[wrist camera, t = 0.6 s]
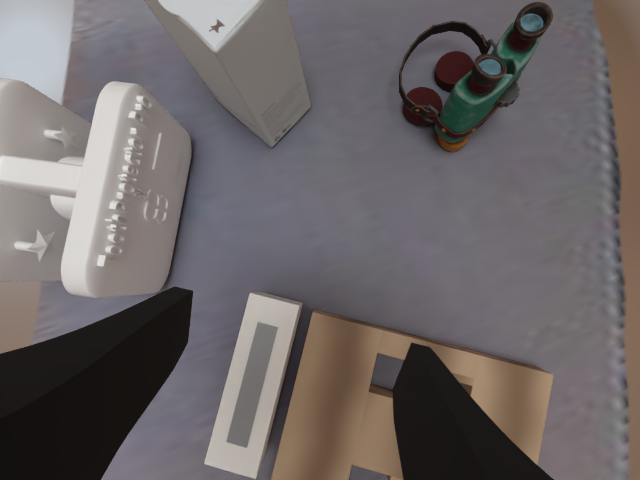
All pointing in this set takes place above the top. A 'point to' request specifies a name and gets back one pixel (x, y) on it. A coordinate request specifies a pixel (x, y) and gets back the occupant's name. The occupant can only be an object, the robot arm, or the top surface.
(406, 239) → the top surface
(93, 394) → the robot arm
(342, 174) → the top surface
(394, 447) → the keyhole board
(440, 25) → the binoculars
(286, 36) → the skincare box
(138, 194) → the white rounded box
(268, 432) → the white rectangular block
